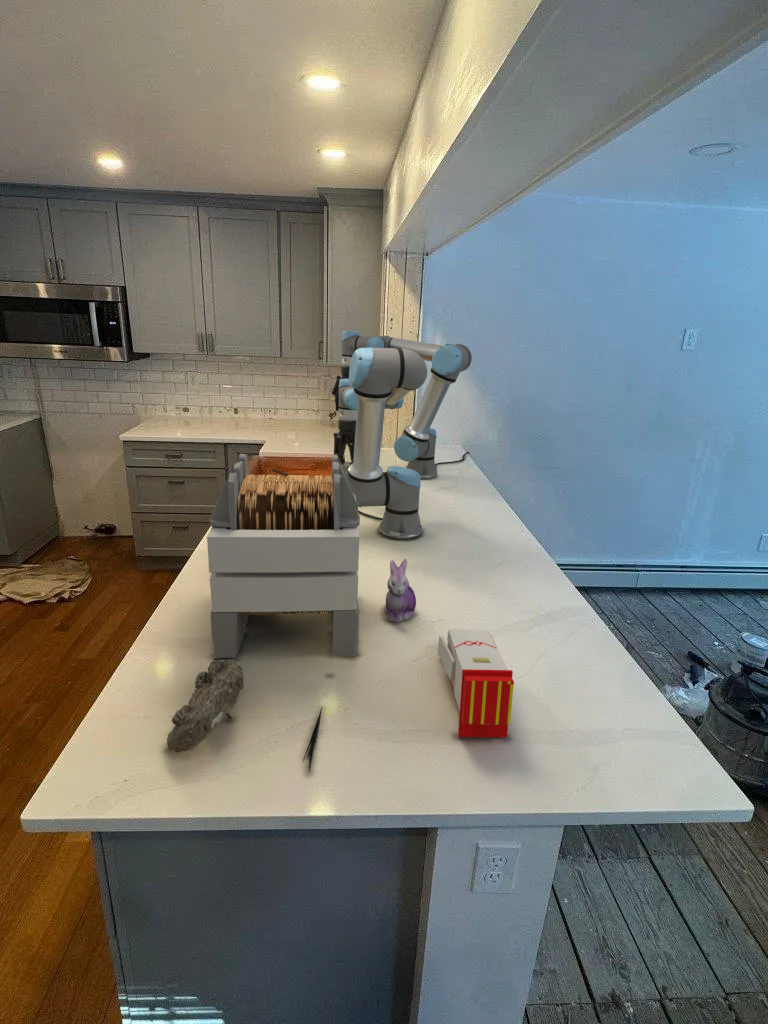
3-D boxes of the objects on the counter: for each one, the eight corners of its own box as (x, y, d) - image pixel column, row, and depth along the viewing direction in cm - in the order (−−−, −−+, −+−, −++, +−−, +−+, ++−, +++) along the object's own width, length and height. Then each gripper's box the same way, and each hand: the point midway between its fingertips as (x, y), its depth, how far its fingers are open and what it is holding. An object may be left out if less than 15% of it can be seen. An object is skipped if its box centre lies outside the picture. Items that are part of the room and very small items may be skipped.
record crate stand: (232, 588, 156) (224, 444, 142) (351, 587, 160) (354, 446, 146) (210, 660, 125) (198, 483, 111) (359, 656, 128) (364, 485, 115)
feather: (331, 679, 122) (336, 673, 122) (307, 777, 96) (313, 769, 95) (324, 675, 122) (329, 669, 121) (298, 772, 95) (304, 764, 95)
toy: (488, 613, 130) (523, 677, 101) (484, 667, 133) (517, 744, 104) (435, 612, 130) (455, 676, 101) (432, 666, 133) (451, 743, 103)
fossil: (192, 660, 117) (244, 628, 112) (224, 691, 120) (276, 661, 115) (142, 746, 98) (202, 712, 93) (182, 779, 101) (242, 748, 96)
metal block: (336, 480, 228) (336, 463, 226) (347, 477, 232) (347, 461, 230) (346, 483, 225) (346, 466, 222) (356, 480, 229) (357, 463, 227)
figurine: (392, 627, 141) (395, 572, 136) (374, 608, 149) (376, 556, 144) (425, 619, 145) (429, 566, 140) (405, 601, 154) (408, 550, 149)
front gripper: (324, 417, 223) (324, 474, 231) (358, 424, 212) (357, 483, 220) (337, 415, 228) (337, 470, 236) (372, 422, 217) (370, 480, 225)
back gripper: (324, 363, 263) (324, 409, 270) (364, 369, 249) (363, 417, 256) (335, 363, 269) (335, 408, 276) (375, 368, 254) (374, 415, 261)
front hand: (346, 477), depth 228 cm, fingers closed on metal block, 5 cm apart
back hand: (348, 412), depth 266 cm, fingers open, 13 cm apart
